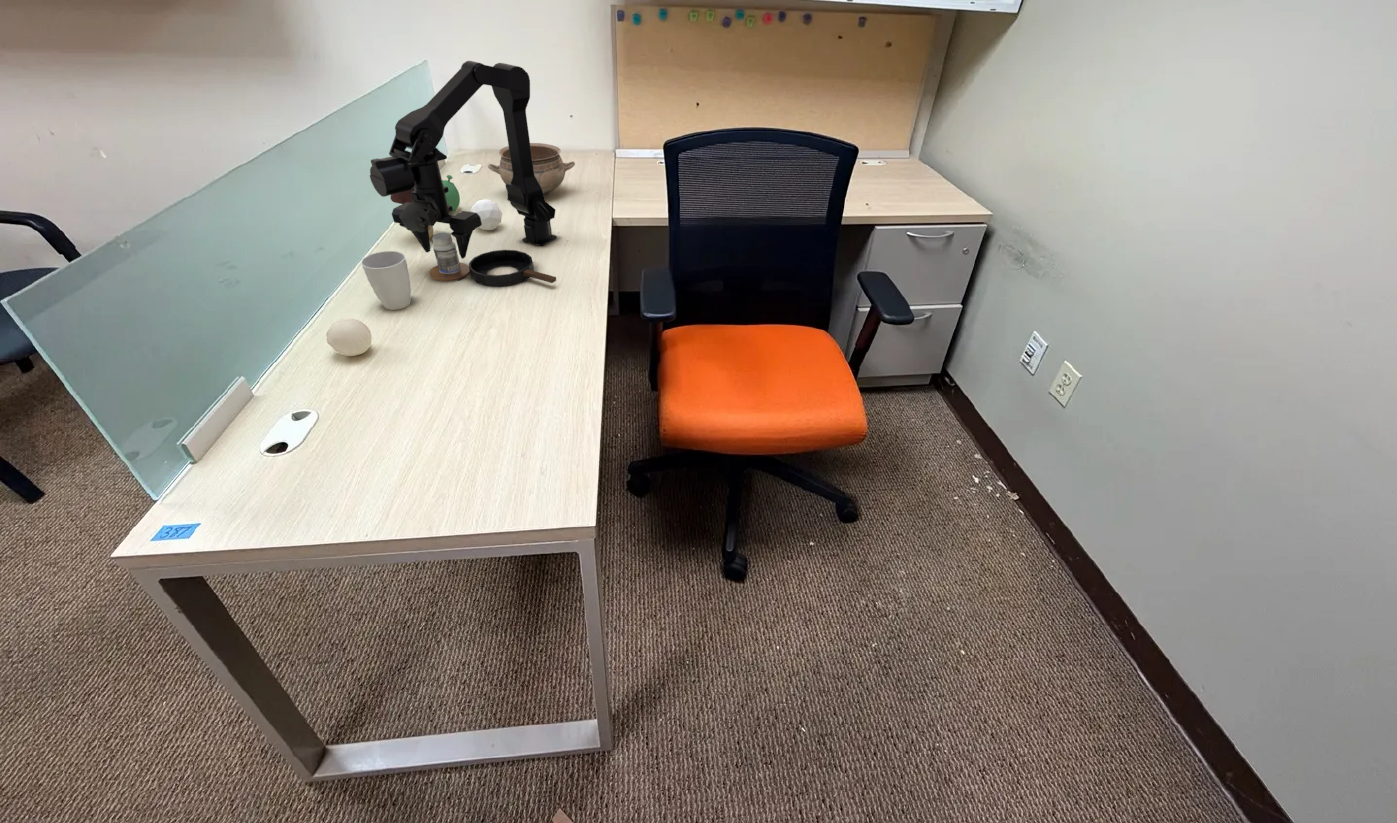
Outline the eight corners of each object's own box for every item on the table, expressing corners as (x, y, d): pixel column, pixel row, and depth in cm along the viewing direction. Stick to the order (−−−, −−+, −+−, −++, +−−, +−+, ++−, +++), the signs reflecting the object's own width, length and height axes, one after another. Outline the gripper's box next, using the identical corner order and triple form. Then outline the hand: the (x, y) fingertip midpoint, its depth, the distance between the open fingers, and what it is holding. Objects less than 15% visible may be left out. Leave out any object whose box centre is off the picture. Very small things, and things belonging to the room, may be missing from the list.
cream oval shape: (344, 342, 114) (331, 311, 110) (382, 343, 114) (371, 312, 109) (325, 361, 108) (312, 329, 104) (365, 363, 108) (353, 331, 104)
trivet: (450, 261, 143) (449, 259, 142) (479, 269, 140) (478, 267, 139) (420, 275, 136) (420, 273, 136) (450, 284, 133) (449, 282, 133)
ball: (487, 241, 159) (467, 223, 152) (481, 221, 162) (461, 202, 155) (511, 226, 158) (491, 207, 150) (504, 206, 161) (485, 187, 154)
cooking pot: (575, 182, 190) (572, 141, 183) (579, 202, 176) (575, 159, 168) (494, 184, 186) (487, 143, 178) (491, 206, 171) (483, 162, 164)
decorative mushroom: (434, 249, 148) (418, 187, 138) (394, 244, 149) (375, 182, 140) (457, 232, 156) (443, 173, 147) (418, 228, 158) (403, 169, 148)
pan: (500, 255, 146) (498, 245, 144) (573, 275, 139) (572, 265, 137) (457, 277, 136) (455, 266, 134) (535, 300, 129) (533, 289, 127)
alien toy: (462, 205, 171) (454, 169, 165) (463, 214, 166) (455, 178, 159) (436, 207, 169) (427, 171, 163) (436, 217, 164) (426, 179, 158)
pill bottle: (442, 266, 139) (433, 231, 134) (463, 266, 140) (455, 231, 134) (437, 275, 136) (427, 239, 130) (458, 275, 136) (449, 239, 131)
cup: (426, 299, 128) (413, 254, 122) (399, 316, 122) (385, 271, 115) (395, 292, 130) (381, 248, 123) (367, 309, 124) (351, 263, 117)
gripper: (363, 190, 121) (386, 262, 131) (443, 202, 117) (460, 276, 127) (400, 174, 130) (419, 243, 139) (475, 185, 126) (489, 255, 135)
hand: (445, 254), depth 135 cm, fingers open, 9 cm apart
